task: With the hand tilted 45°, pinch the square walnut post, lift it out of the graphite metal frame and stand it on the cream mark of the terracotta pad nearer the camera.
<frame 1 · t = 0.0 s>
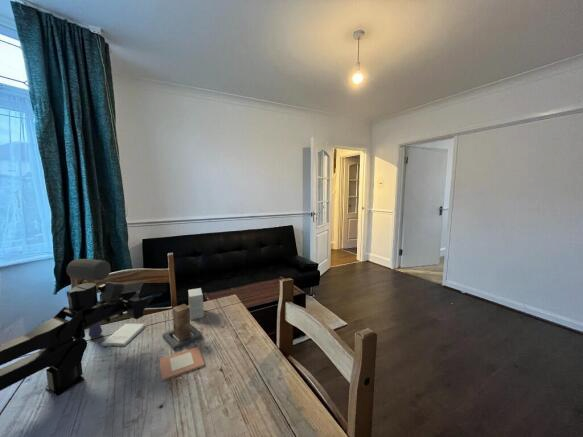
hand: (144, 294, 92), 17 cm above the table, tool horizontal, fingers open, 9 cm apart
external hard drive: (124, 337, 95), on the table
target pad: (181, 363, 80), on the table
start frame: (182, 337, 93), on the table
small box: (196, 315, 110), on the table
walnut post: (181, 322, 93), in the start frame
rubber mallet: (95, 337, 94), on the table
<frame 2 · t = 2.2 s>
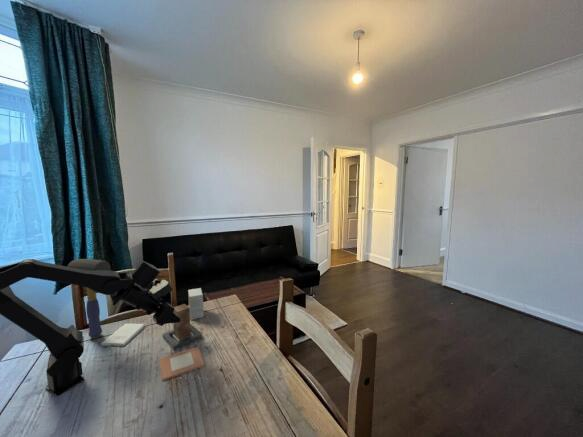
hand: (174, 316, 90), 10 cm above the table, tool tilted 45°, fingers open, 9 cm apart
nothing on the table moved.
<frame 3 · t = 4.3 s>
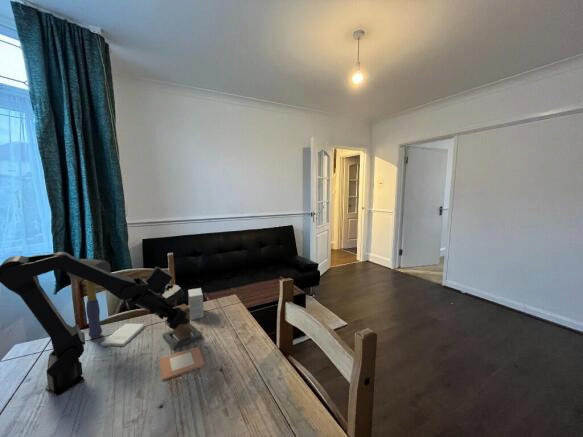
hand: (185, 319, 94), 7 cm above the table, tool tilted 45°, fingers closed on walnut post, 4 cm apart
walnut post: (181, 322, 93), in the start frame, touching gripper
everything else where it was.
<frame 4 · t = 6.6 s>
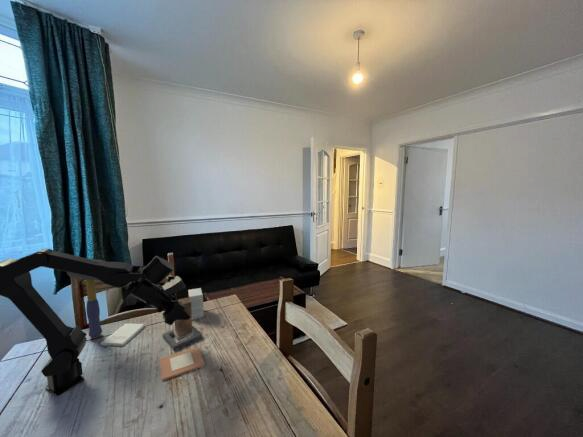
hand: (187, 315, 86), 12 cm above the table, tool tilted 45°, fingers closed on walnut post, 4 cm apart
walnut post: (183, 318, 85), point 12 cm above the table, touching gripper
everything else where it was.
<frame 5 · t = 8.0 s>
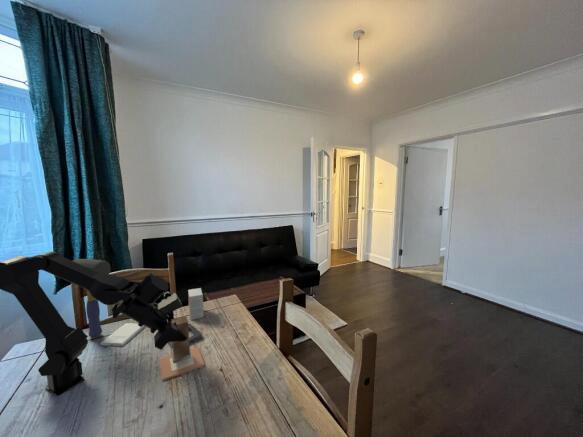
hand: (184, 335, 80), 9 cm above the table, tool tilted 45°, fingers closed on walnut post, 4 cm apart
walnut post: (180, 338, 79), point 9 cm above the table, touching gripper
everything else where it was.
when the fingers open (8 cm above the table, at t = 9.0 s): walnut post stays where it is, resting on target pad.
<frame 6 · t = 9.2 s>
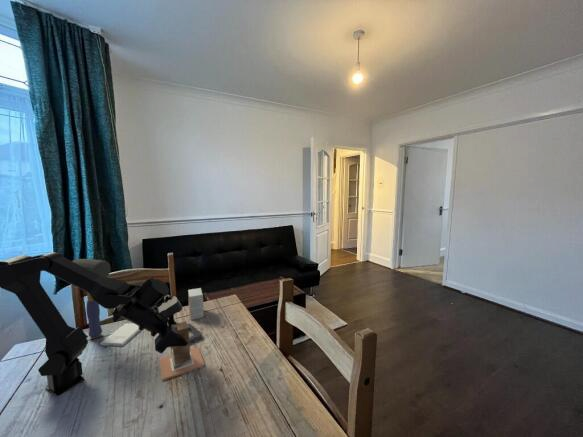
hand: (185, 338, 80), 8 cm above the table, tool tilted 45°, fingers open, 6 cm apart
walnut post: (180, 343, 79), on the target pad, point 7 cm above the table
everything else where it was.
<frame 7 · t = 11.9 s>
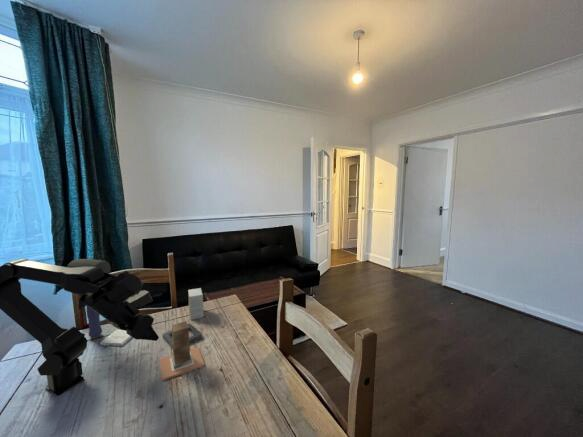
hand: (151, 335, 77), 10 cm above the table, tool tilted 35°, fingers open, 9 cm apart
nothing on the table moved.
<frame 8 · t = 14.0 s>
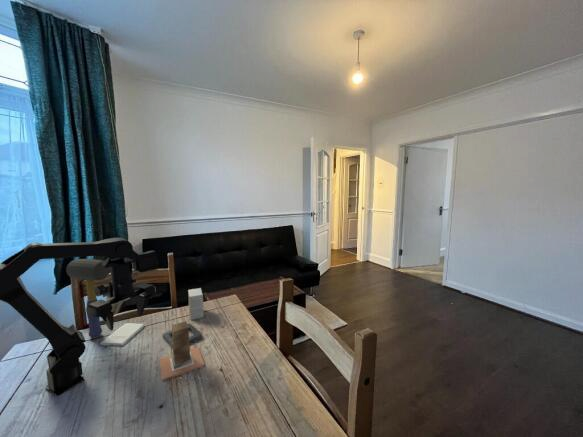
hand: (126, 322, 81), 12 cm above the table, tool pointing down, fingers open, 9 cm apart
nothing on the table moved.
at the end: walnut post 0.0 cm off-centre on the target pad, point 6.7 cm above the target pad's base; walnut post tilted 0°; the gripper is holding nothing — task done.
